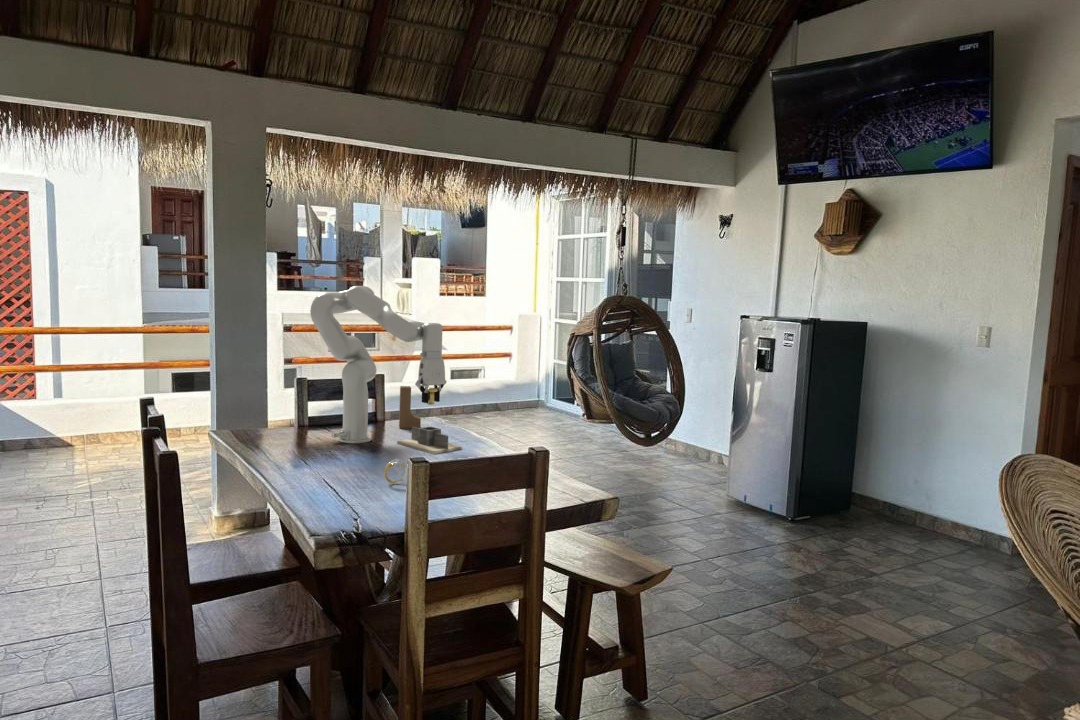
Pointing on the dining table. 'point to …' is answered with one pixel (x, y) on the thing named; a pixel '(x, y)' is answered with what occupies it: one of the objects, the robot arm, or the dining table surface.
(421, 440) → the hinge base
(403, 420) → the wooden block
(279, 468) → the dining table surface
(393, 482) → the ring
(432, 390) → the round gold knob
